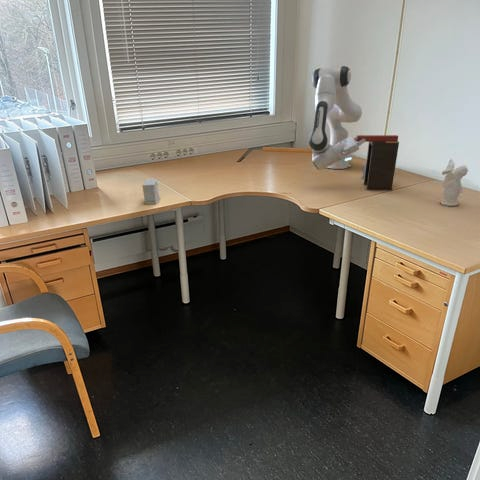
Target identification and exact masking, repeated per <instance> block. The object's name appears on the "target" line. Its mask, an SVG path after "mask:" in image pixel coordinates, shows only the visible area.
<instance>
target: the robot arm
mask: <svg viewBox="0 0 480 480" xmlns="http://www.w3.org/2000/svg"><path fill="white" fill-rule="evenodd" d="M351 79H352V72H351V69H350V68H349V67H348V66H346V65H341V66H339V65H338V66H336V65H335V66H328V67H323V68H316V69H314V71H313V72H312V76H311V83H312V87H314V89H315V95H314V109H315V110H314V111H315V113H314V120H313V128H312V131H311V133H310V135H309V137H308V145H309V147H310V148H311V149H312V158H311V162H312V164H313V166H314V167H315V168H316V169H317V170H319V171H322V170H325V169H331V170H343V169H347V168H351V167H352V164H350V160H352V157H350V155H351V154H354V153H356V152H357V151H359V150H360V147H361V146H362V145H363V144H364V143H367V142H366V141H365V139H364V138H363V139H362V140H361V141H359V142H357V141H356V137H357V136H355V137H353V136H349V132H348V130H347V129H346V128H345V127H344V126H343V125H342V123H347V124H350V123H351V124H353V123H358V122H359V121H360V119H361V117H362V114H363V112H362V107H361V105H359V104H357V103H356V102H355V101H354V100H353V99H352V97H351V96H350V94H349V90H348V85H349V84H350V82H351ZM326 124H327V125H328V128H329V132H330V133H329V135H330V138H328V136H327V133H326V126H327V125H326Z"/></svg>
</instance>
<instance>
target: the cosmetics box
mask: <svg viewBox="0 0 480 480" xmlns="http://www.w3.org/2000/svg"><path fill="white" fill-rule="evenodd" d="M158 185H159V184H158V179H146V180H145V181H144V183H143V184H142V192H143V200H144V204H145V205H157V203H158V201H159V200H160V192H159V186H158Z"/></svg>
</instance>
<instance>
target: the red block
mask: <svg viewBox="0 0 480 480" xmlns="http://www.w3.org/2000/svg"><path fill="white" fill-rule="evenodd" d="M355 137H356V143H357V142H359V141H361V140H362V139H363V138H364V139H365V141H366V142H365V143H367V142H368V143H369V142H399V135H398V134H391V135H390V134H385V135H383V134H377V135H376V134H368V135H367V134H364V135H363V134H357V135H356V136H355Z"/></svg>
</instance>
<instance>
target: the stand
mask: <svg viewBox="0 0 480 480" xmlns="http://www.w3.org/2000/svg"><path fill="white" fill-rule="evenodd" d="M399 145H400V142H399V141H398V142H368V146H367V155H366V163H365V164H366V170H365V178H364V179H363V185H364V186H366V190H367V191H392V190H393V184H394V177H395V171H396V165H397V159H398V152H399Z"/></svg>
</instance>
